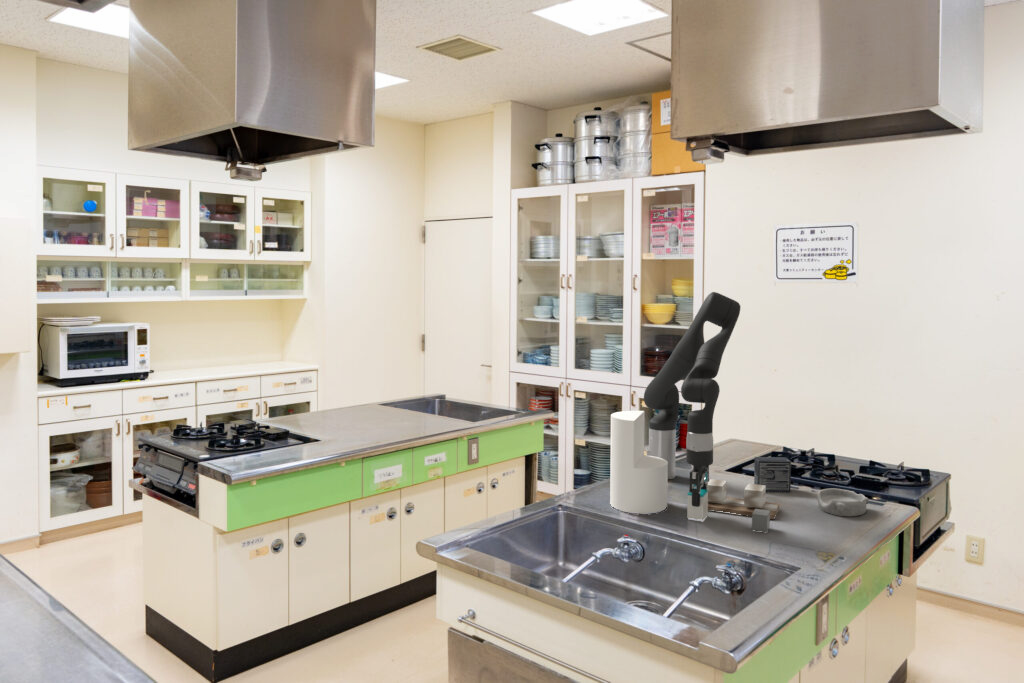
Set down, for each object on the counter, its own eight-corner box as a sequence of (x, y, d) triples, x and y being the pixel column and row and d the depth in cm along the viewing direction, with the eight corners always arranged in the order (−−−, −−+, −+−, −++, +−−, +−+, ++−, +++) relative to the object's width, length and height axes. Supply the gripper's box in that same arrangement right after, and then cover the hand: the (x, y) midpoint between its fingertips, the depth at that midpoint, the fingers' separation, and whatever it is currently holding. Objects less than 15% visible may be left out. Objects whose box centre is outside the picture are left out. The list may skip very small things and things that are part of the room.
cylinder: (604, 511, 226) (605, 419, 223) (616, 495, 242) (617, 409, 240) (662, 517, 220) (663, 422, 218) (671, 500, 236) (672, 412, 234)
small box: (786, 487, 250) (786, 456, 249) (791, 493, 244) (792, 461, 243) (753, 486, 251) (754, 456, 250) (757, 492, 245) (758, 460, 244)
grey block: (751, 531, 208) (752, 513, 207) (754, 526, 212) (755, 508, 212) (766, 533, 206) (767, 515, 205) (769, 528, 210) (770, 510, 210)
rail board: (690, 508, 228) (690, 485, 227) (699, 498, 238) (700, 475, 238) (773, 520, 217) (774, 495, 216) (779, 508, 227) (780, 484, 227)
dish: (845, 520, 216) (846, 503, 216) (806, 507, 229) (807, 491, 228) (878, 513, 223) (879, 496, 223) (839, 501, 235) (839, 485, 235)
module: (687, 520, 217) (687, 493, 217) (692, 514, 222) (692, 487, 222) (702, 522, 215) (703, 495, 214) (707, 516, 220) (708, 489, 220)
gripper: (692, 441, 225) (692, 494, 226) (680, 451, 212) (680, 507, 214) (718, 443, 222) (717, 497, 223) (707, 453, 209) (706, 510, 210)
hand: (699, 502), depth 218 cm, fingers open, 8 cm apart
